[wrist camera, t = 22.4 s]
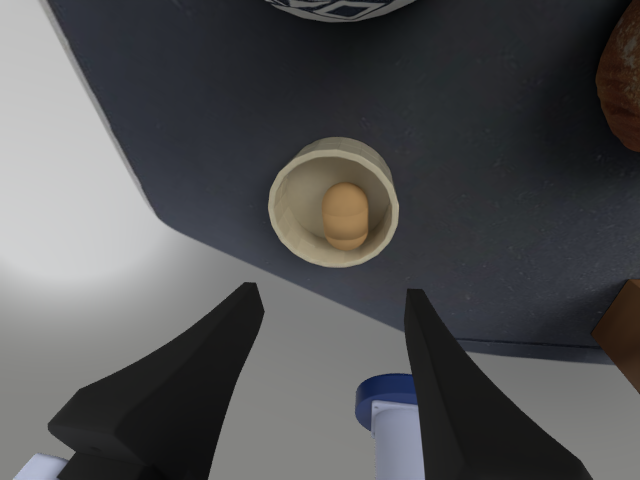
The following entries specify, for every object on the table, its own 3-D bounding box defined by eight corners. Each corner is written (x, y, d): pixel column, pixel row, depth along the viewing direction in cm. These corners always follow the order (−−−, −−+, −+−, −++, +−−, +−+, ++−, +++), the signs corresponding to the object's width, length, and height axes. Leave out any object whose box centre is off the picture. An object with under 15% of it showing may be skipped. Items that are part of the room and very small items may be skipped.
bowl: (391, 242, 21) (394, 269, 18) (292, 241, 23) (280, 266, 20) (397, 132, 17) (403, 145, 14) (273, 140, 18) (255, 154, 15)
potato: (359, 232, 21) (374, 254, 19) (321, 240, 21) (331, 263, 18) (359, 172, 19) (376, 187, 16) (315, 179, 18) (325, 196, 16)
